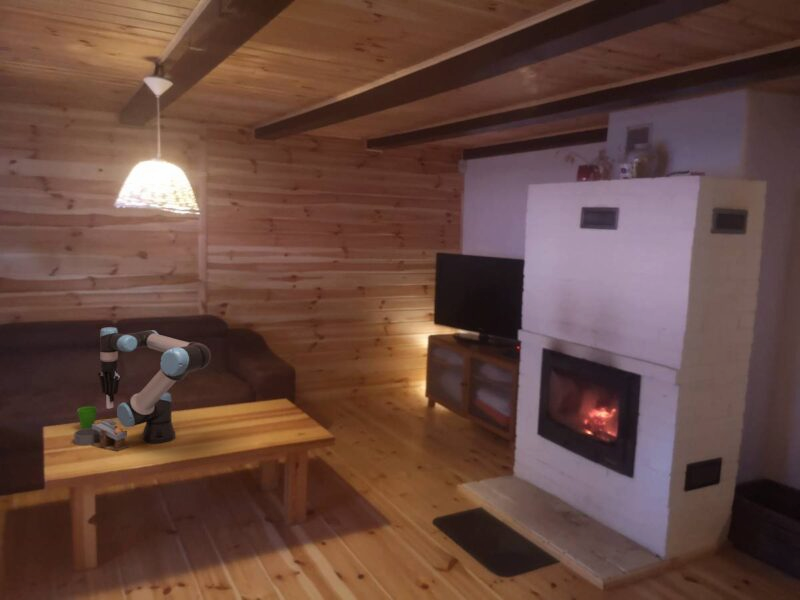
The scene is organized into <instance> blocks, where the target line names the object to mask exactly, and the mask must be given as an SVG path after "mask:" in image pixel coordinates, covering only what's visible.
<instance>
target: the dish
mask: <svg viewBox="0 0 800 600" xmlns="http://www.w3.org/2000/svg"><path fill="white" fill-rule="evenodd" d="M98 441H101V432H98V431H96V430H94V429H92V428H87V429H81V428H80V429H79V430H76V431H74V432H73V443H74V444H75V445H77V446H91V444H93V443H95V442H98Z"/></svg>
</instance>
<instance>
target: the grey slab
mask: <svg viewBox="0 0 800 600" xmlns="http://www.w3.org/2000/svg"><path fill="white" fill-rule="evenodd" d="M116 424H117V421H116V420H113V419H108V420H105V421H104V420H101V421H100V423H97V424H95V423H94V424H92V429H94V430H96V431H98V432H101V430H105V431H106V435H107V436H109V437H111V438H113V439H115V440H117V441H118V440H120V439H123V438H125V439H126V438H127V437H128V435H127V434H128V431H127V430H123V432H121V433H119V434H117V435H116V434H115V429H116V427H114V426H116Z"/></svg>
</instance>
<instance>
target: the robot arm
mask: <svg viewBox="0 0 800 600" xmlns="http://www.w3.org/2000/svg"><path fill="white" fill-rule="evenodd" d="M99 335H100V336H99V343H100V344H99V347H100V349H99V350H100V353H99V354H100V356H99V357H100V369H101V372H98V373H97V376H98V378H99V382H100V388H101V392H102V393H103V394H104V395H105V402H106V409H113V408H114V401H115V395H116V394H118V392H119V391H118V390H119V385H120V380H121V378H122V375H121V374H120V375H119V373H118V371H117V369H118V368H119V360H118V357H119V356H118V354H119V352H118V351H122V352H124V353H125V352H133V351H134V350H136V349H141V348H148V349H152V350H154V351H159V352H162V353H163V354H162V355H161V358H160V360H161V361H160V363H159V364H160V370H159V371H158V372H157V373H156V374H155V375H154V376H153V377H152V378H151V379H150V381H149V382H148V383H147V384H146V385H145V386H144V388H143V389H141V391H140V392H138V393H135V394H133V395H132V396H131V397H130V398H129V400H127V401H123V402H121V403H119V404H118V406H117V408H116V416H117V419H118V421H119V423H120V424H121V425H122V426H123V427H125V428H131V427H135V426H138V425H142V424H144V423H145V427H144V428H143V432H142V435H141V438H142V441H143V442H144V443H148V444H162V443H168V442H171V441H173V440H175V439H176V431H175V429H174V426H173V422H172V408H173V407H172V406H173V404H172V403H173V400H172V395H171V393H170V392H169V389H170V388H171V387H172V386H173V385H174V384H175V383H176V382H180V381H183V380H184V378H185V377H186V376H187V375H188V374H189V373H191V372H195V371H199V370H202V369H204V368H206V367H207V366H208V365H209V363H210V361H211V358H212V355H211V351H210V349H209V348H208V346H206V345H205V344H203V343H200V342H196V341H192V342H191V341H190V342H188V341H184V340H180V339H178V338H173V337H169V336H165V335H161V334H159V333H158V332H157V331H156V330H155V329H154V330H153V329H152V330H150V329H148V330H144V331H137V332H130V333H119V331H118V328H117V327H113V326H109V327H108V326H107V327H102V328H101V329H100V334H99Z"/></svg>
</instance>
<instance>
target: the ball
mask: <svg viewBox="0 0 800 600" xmlns="http://www.w3.org/2000/svg"><path fill="white" fill-rule="evenodd" d="M123 431H124V430H123V428H121V427H118V428H116V429H115V434H116V435H117V434H119V433H121V432H123Z"/></svg>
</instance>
